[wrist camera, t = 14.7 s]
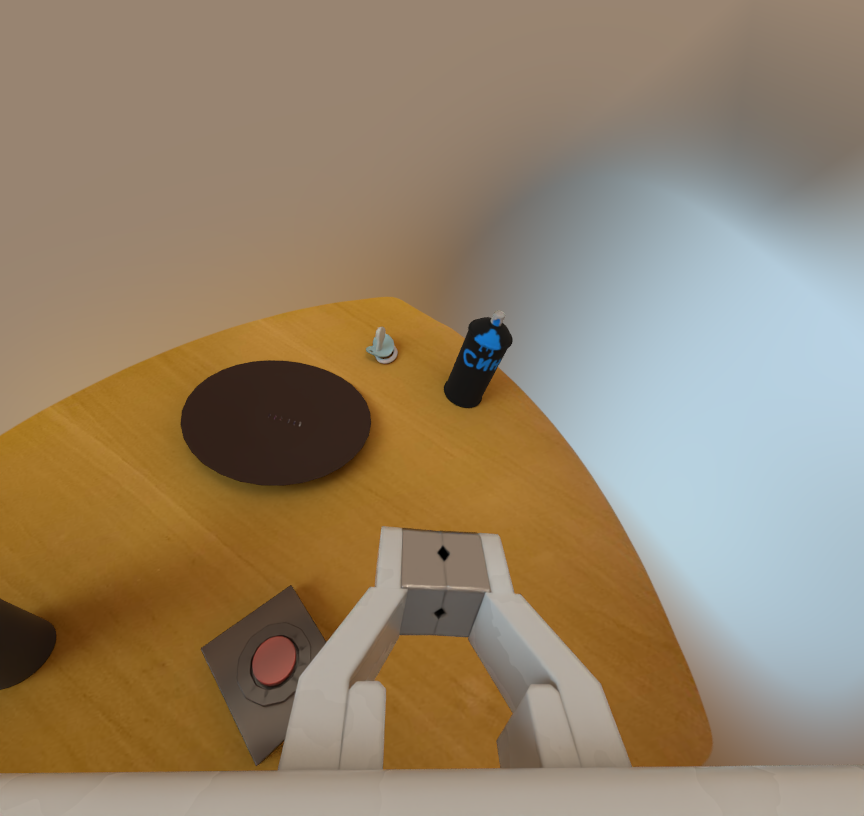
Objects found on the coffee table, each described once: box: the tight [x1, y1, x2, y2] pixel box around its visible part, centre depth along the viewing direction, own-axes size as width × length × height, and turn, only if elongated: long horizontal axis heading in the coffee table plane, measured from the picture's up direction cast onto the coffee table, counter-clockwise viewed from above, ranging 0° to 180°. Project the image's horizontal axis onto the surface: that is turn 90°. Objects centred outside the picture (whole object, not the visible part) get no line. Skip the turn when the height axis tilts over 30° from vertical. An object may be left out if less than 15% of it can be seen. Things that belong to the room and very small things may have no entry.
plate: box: [181, 360, 371, 485], centre depth 61 cm, size 28×28×4 cm
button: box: [252, 636, 296, 686], centre depth 38 cm, size 4×4×2 cm
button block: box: [201, 585, 326, 766], centre depth 40 cm, size 12×10×4 cm
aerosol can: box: [444, 310, 512, 408], centre depth 70 cm, size 8×8×20 cm
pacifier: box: [366, 327, 398, 364], centre depth 77 cm, size 7×6×6 cm
